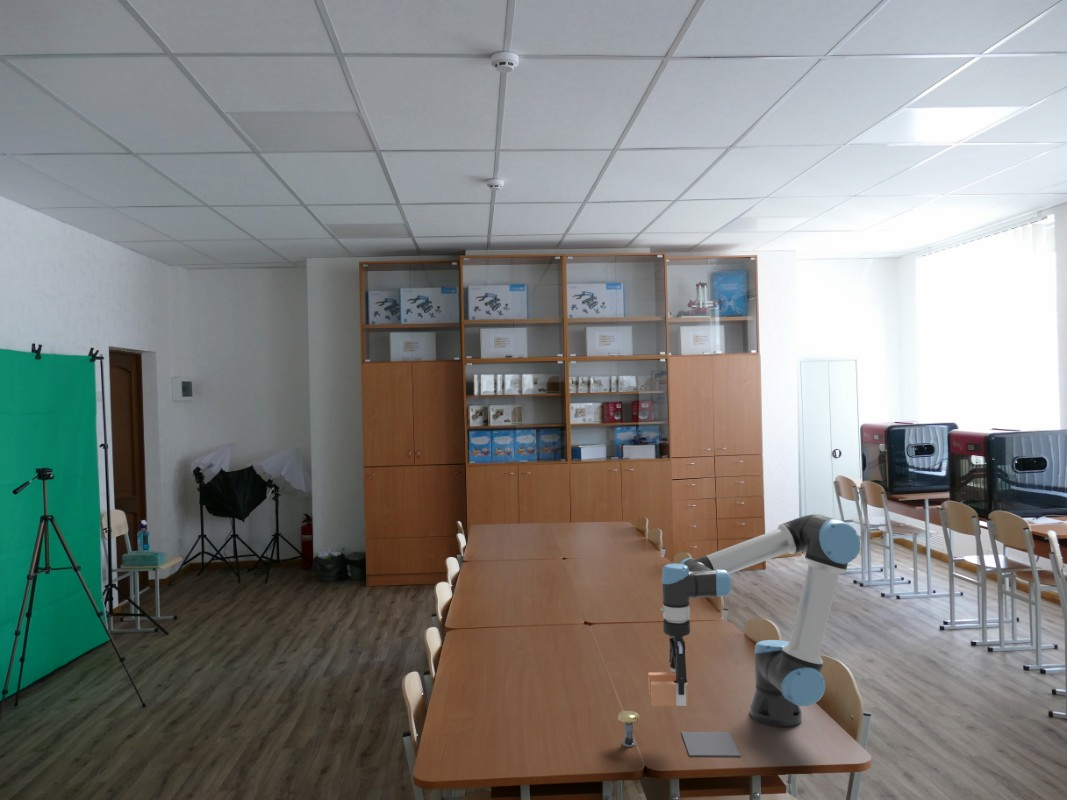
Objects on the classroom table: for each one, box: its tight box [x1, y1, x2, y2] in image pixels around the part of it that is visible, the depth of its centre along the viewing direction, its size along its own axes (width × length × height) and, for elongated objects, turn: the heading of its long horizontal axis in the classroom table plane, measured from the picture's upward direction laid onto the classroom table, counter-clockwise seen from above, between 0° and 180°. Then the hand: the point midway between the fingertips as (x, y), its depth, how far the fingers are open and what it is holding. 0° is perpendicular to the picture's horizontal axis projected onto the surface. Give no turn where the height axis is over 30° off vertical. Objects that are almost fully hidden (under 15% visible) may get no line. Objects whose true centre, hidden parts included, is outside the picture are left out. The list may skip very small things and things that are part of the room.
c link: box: [647, 671, 689, 707], centre depth 204 cm, size 10×9×6 cm
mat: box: [680, 731, 742, 758], centre depth 204 cm, size 14×14×1 cm
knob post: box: [617, 710, 640, 748], centre depth 205 cm, size 6×6×8 cm
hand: (678, 697), depth 204 cm, fingers closed on c link, 9 cm apart
